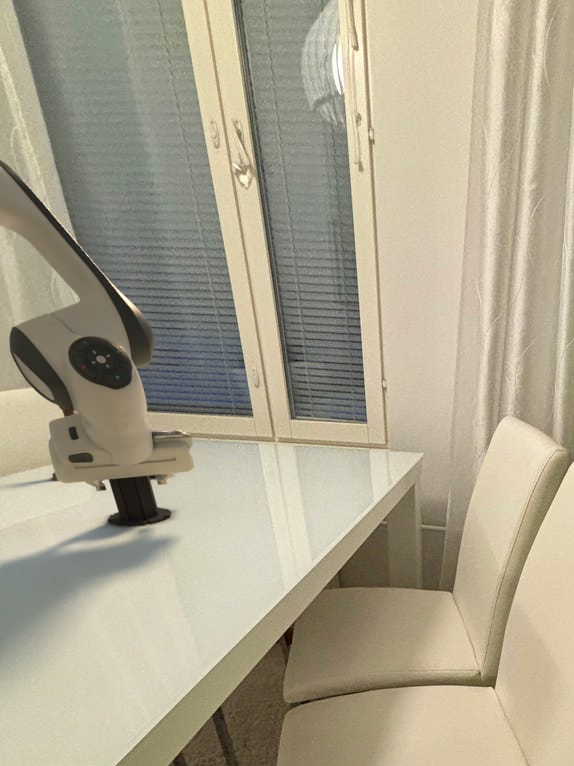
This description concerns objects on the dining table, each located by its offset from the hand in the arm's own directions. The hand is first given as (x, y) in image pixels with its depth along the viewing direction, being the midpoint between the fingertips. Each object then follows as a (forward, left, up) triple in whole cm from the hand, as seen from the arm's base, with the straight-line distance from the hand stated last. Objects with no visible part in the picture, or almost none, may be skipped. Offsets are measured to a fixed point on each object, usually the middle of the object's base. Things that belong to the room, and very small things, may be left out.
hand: (131, 484), depth 97 cm
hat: (0, +2, -7) cm, 7 cm away
